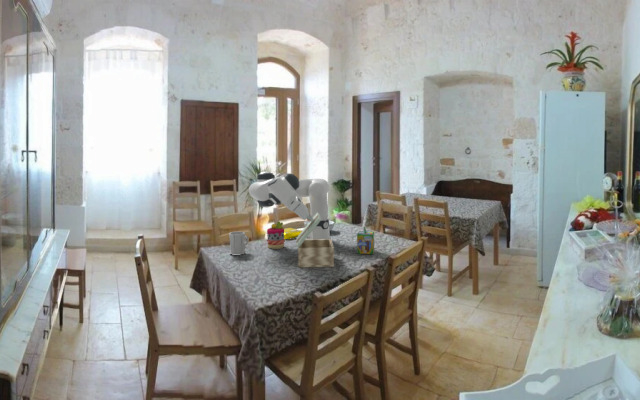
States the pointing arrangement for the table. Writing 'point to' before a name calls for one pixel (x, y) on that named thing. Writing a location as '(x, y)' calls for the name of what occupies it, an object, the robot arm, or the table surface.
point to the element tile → (291, 233)
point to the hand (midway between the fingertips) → (313, 220)
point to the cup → (238, 242)
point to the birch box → (316, 253)
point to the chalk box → (365, 242)
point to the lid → (307, 230)
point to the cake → (276, 236)
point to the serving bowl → (331, 225)
